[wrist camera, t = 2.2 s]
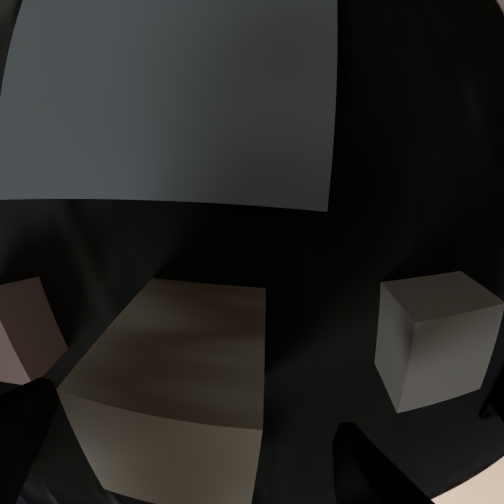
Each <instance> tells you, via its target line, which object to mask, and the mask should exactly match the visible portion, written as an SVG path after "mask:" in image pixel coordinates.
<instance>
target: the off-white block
mask: <svg viewBox="0 0 504 504" xmlns="http://www.w3.org/2000/svg"><path fill="white" fill-rule="evenodd" d="M503 310H504V302H503V301H502V300H501V299H499V298H498V297H497V296H495V295H494V294H493V293H491V292H490V291H488V290H487V289H486V288H484V287H483V286H481V285H480V284H479V283H477V282H476V281H474V280H473V279H471V278H470V277H469V276H467V275H466V274H464V273H463V272H461V271H457V272H451V273H444V274H437V275H430V276H423V277H416V278H409V279H402V280H394V281H386V282H381V292H380V309H379V323H378V334H377V345H376V354H375V365H376V367H377V369H378V372H379V374H380V376H381V378H382V380H383V382H384V385H385V387H386V389H387V391H388V393H389V396H390V398H391V400H392V403H393V405H394V407H395V409H396V412H397V413H400V412H404V411H408V410H412V409H416V408H420V407H424V406H427V405H431V404H434V403H438V402H441V401H445V400H448V399H451V398H454V397H457V396H460V395H463V394H466V393H469V392H472V391H475V390H477V389H480V387H481V384H482V382H483V379H484V376H485V373H486V370H487V367H488V364H489V361H490V358H491V355H492V352H493V348H494V345H495V342H496V338H497V334H498V331H499V327H500V323H501V319H502V315H503Z"/></svg>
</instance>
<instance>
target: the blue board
mask: <svg viewBox="0 0 504 504" xmlns="http://www.w3.org/2000/svg"><path fill="white" fill-rule="evenodd" d="M336 84H337V0H23V2H22V5H21V8H20V11H19V15H18V18H17V21H16V25H15V28H14V32H13V36H12V40H11V44H10V48H9V52H8V57H7V61H6V67H5V72H4V77H3V84H2V90H1V97H0V200H6V199H130V200H161V201H185V202H204V203H222V204H238V205H253V206H266V207H279V208H291V209H303V210H314V211H324V212H327V208H328V199H329V188H330V178H331V166H332V154H333V140H334V125H335V107H336Z"/></svg>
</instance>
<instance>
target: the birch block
mask: <svg viewBox="0 0 504 504" xmlns="http://www.w3.org/2000/svg"><path fill="white" fill-rule="evenodd" d="M265 307H266V288H255V287H243V286H230V285H219V284H207V283H196V282H186V281H175V280H165V279H156V278H152V279H151V280H150V281H149V282H148V283H147V284H146V285H145V287H144V288H143V289H142V290H141V291H140V292H139V293H138V294H137V295H136V296H135V298H134V299H133V300H132V301H131V302H130V303H129V304H128V305H127V306H126V308H125V309H124V310H123V311H122V312H121V313H120V314H119V316H118V317H117V318H116V319H115V320H114V321H113V322H112V323H111V325H110V326H109V327H108V328H107V329H106V330H105V332H104V333H103V334H102V335H101V336H100V337H99V338H98V340H97V341H96V342H95V343H94V344H93V346H92V347H91V348H90V349H89V350H88V351H87V353H86V354H85V355H84V356H83V357H82V359H81V360H80V361H79V362H78V363H77V365H76V366H75V367H74V368H73V369H72V371H71V372H70V373H69V374H68V376H67V377H66V378H65V379H64V381H63V382H62V383H61V384H60V385H59V387H58V388H57V389H56V390H57V392H58V395H59V398H60V400H61V403H62V405H63V408H64V410H65V413H66V415H67V417H68V420H69V422H70V424H71V426H72V429H73V431H74V433H75V435H76V437H77V439H78V442H79V444H80V446H81V448H82V450H83V452H84V454H85V456H86V458H87V459H88V461H89V463H90V465H91V467H92V469H93V471H94V472H95V474H96V476H97V478H98V480H99V481H100V483H101V485H102V486H103V488H104V489H106V490H109V491H112V492H116V493H119V494H122V495H126V496H129V497H133V498H136V499H140V500H144V501H148V502H152V503H156V504H251V502H252V496H253V490H254V484H255V478H256V471H257V465H258V458H259V452H260V445H261V439H262V432H263V404H264V362H265Z"/></svg>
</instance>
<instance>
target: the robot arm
mask: <svg viewBox="0 0 504 504" xmlns="http://www.w3.org/2000/svg"><path fill="white" fill-rule="evenodd" d="M58 403H59V398H58V395H57V392H56V390H55V387H54V384H53V382H52V381H51V380H50V379H47V378H44V377H39V378H37V379H35V380H32V381H30V382H28V383H25V384H23V385H21V386H18V387H16V388H14V389H11V390H9V391H7V392H4V393H2V394H0V504H16V501H17V499H18V497H19V494H20V492H21V490H22V487H23V485H24V483H25V480H26V478H27V476H28V474H29V472H30V469H31V467H32V465H33V463H34V461H35V459H36V457H37V454H38V452H39V450H40V448H41V446H42V444H43V442H44V440H45V438H46V435H47V433H48V430H49V427H50V425H51V422H52V419H53V417H54V414H55V412H56V409H57V406H58ZM497 416H499V417H500V418H501V419H502V421H503V422H504V368H503V370H502V372H501V374H500V376H499V378H498V380H497V382H496V384H495V386H494V388H493V390H492V391H491V393H490V395H489V397H488V399H487V401H486V402H485V404H484V406H483V408H482V409H481V411H480V413H479V417H480V419H481V420H487V419H490V418H493V417H497ZM333 465H334V488H335V495H336V501H337V504H435V503H434V502H433V501H431V500H430V499H429V498H428V497H427V496H426V495H424V493H423V492H422V491H421V490H420V489H419V488H418V487H417V486H416V485H415V484H414V483H413V482H412V481H411V480H410V479H409V478H408V477H407V476H406V475H405V474H404V473H403V472H402V471H401V470H400V469H399V468H398V467H397V466H396V465H395V464H394V463H393V462H392V461H391V460H390V459H389V458H388V457H387V456H386V455H385V454H384V453H383V452H382V451H381V450H380V448H379V447H378V446H377V445H376V444H375V443H374V442H373V441H372V440H371V439H370V438H369V437H368V436H367V435H366V434H365V433H364V432H363V431H362V430H361V429H360V428H359V427H358V425H357V424H356V423H354V422H342V423H340V424H339V426H338V429H337V431H336V434H335V437H334V439H333Z"/></svg>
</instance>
